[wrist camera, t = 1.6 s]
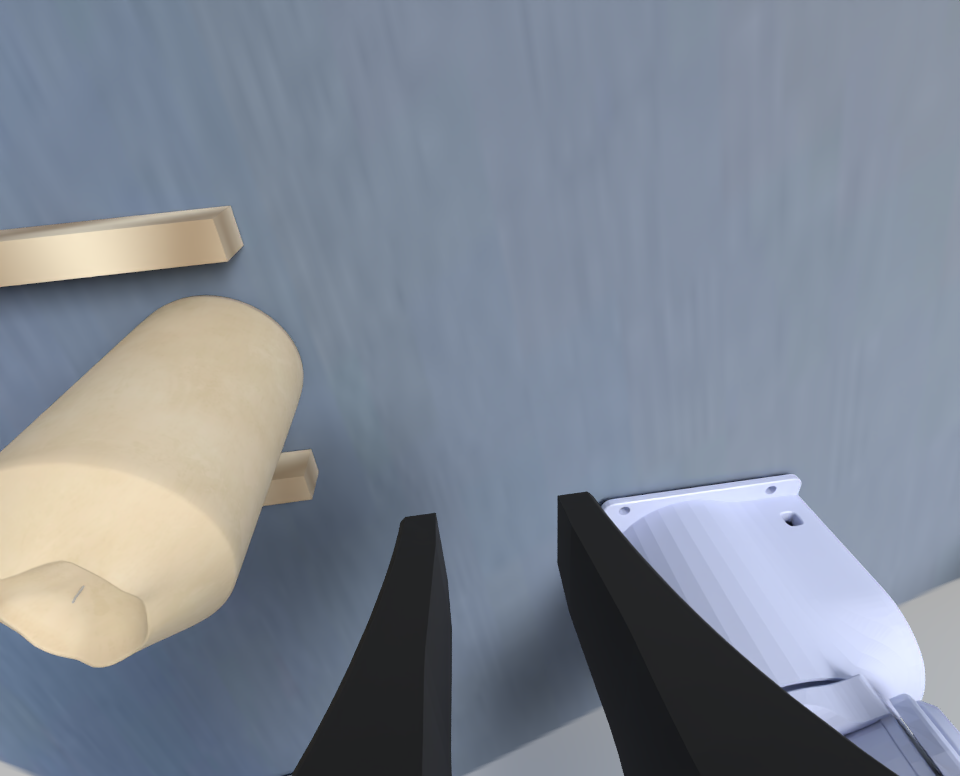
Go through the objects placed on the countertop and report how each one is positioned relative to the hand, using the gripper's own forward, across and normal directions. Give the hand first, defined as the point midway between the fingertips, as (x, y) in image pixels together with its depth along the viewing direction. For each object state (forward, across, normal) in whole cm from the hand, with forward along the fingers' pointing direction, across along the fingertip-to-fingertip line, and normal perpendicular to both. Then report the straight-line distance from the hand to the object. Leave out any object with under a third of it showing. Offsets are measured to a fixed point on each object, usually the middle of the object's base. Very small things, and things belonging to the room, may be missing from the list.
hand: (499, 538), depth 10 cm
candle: (+10, +8, 0) cm, 13 cm away
